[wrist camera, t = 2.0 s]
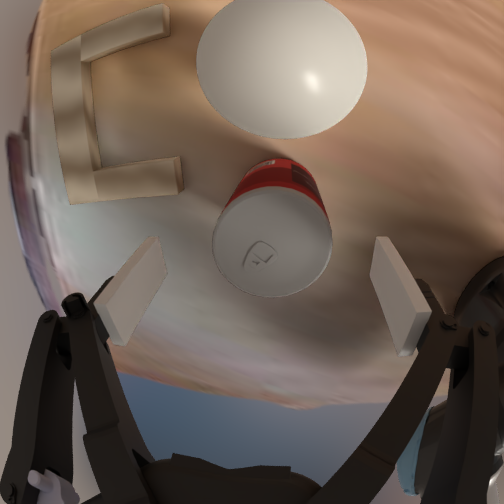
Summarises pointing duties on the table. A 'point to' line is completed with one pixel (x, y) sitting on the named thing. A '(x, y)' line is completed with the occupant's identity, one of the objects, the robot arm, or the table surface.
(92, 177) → the notched board
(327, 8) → the bobbin
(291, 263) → the canned food
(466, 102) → the table surface
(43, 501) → the robot arm
